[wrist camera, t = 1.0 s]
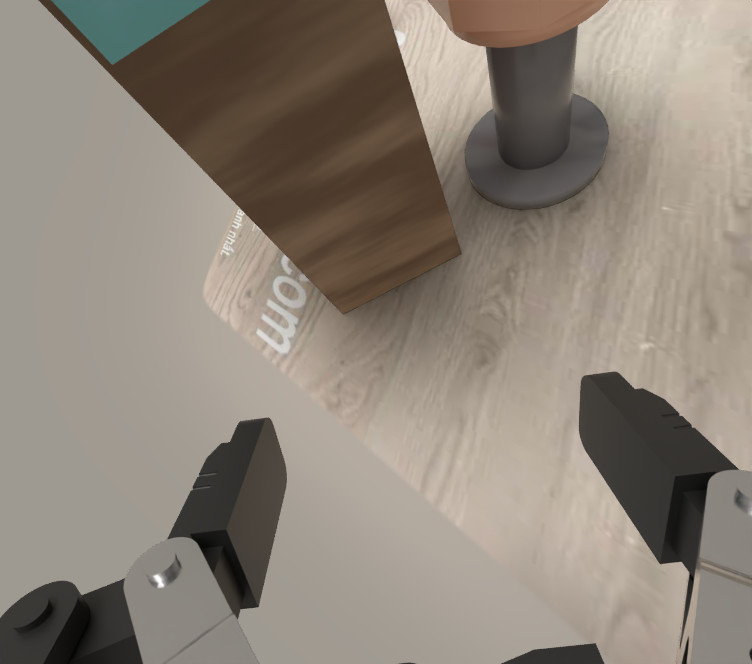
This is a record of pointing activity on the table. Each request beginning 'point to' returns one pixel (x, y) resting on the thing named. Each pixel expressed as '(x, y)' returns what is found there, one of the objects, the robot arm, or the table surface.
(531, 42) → the bowl
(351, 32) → the wooden block
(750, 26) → the table surface
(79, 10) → the cover
